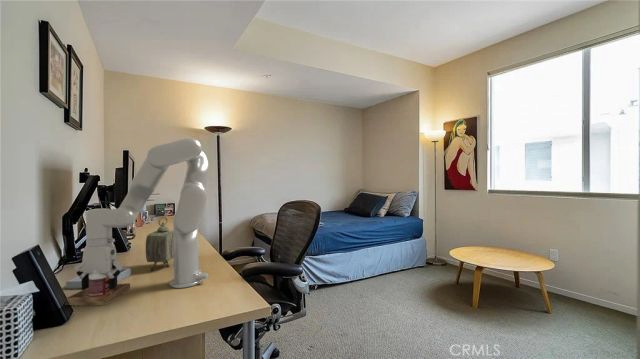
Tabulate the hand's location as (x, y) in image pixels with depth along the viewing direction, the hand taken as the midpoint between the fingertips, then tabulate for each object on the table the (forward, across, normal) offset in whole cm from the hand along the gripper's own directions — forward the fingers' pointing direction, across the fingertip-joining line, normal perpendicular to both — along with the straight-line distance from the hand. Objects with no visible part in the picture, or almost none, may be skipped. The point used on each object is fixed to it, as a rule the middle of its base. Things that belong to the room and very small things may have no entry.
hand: (99, 288), depth 103 cm
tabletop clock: (+4, -5, -36) cm, 37 cm away
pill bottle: (+4, 0, 0) cm, 4 cm away
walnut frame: (+3, 0, 0) cm, 3 cm away
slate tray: (+3, +12, -17) cm, 21 cm away
